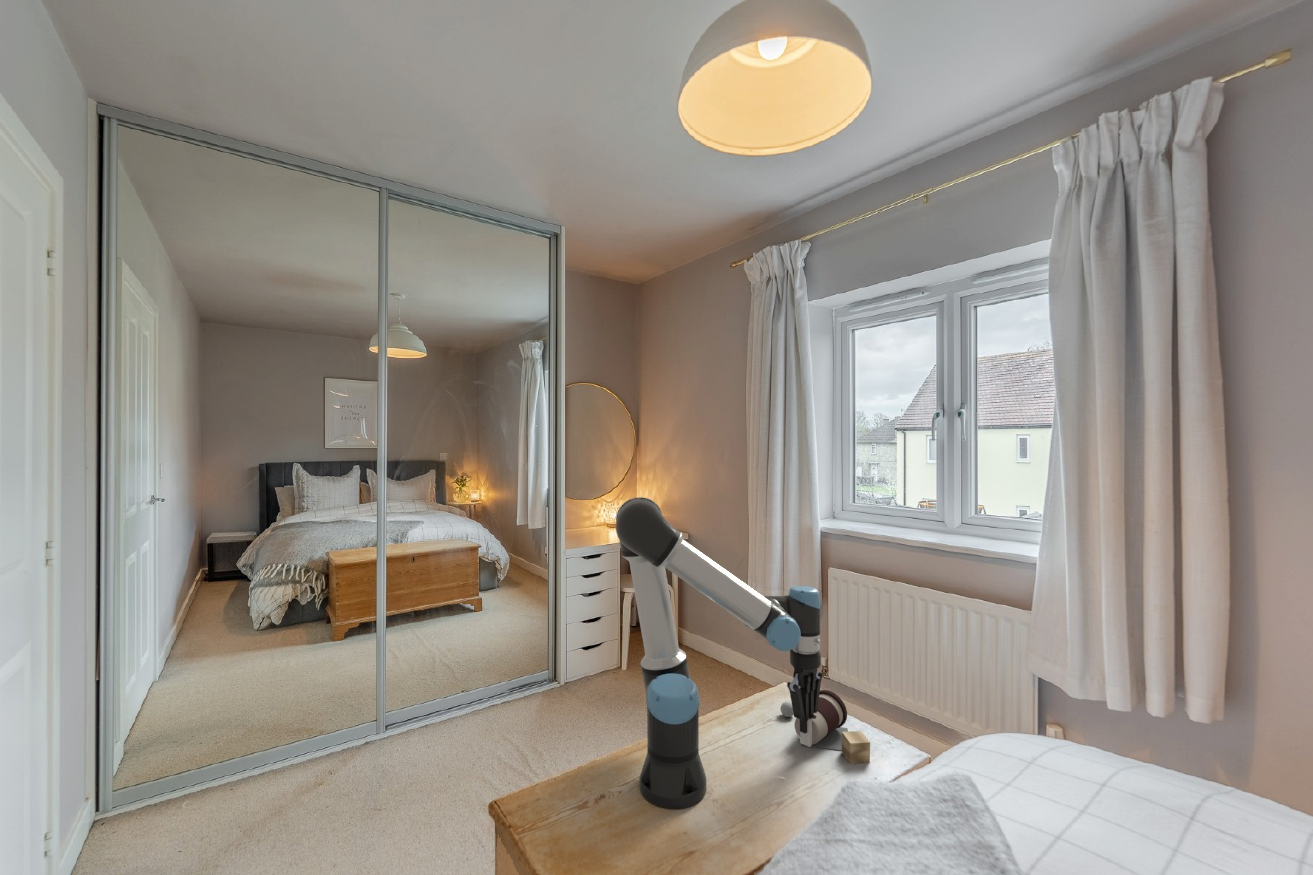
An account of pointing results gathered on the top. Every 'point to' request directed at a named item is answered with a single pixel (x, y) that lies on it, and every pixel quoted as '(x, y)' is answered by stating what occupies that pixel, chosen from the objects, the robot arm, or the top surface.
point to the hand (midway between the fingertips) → (806, 744)
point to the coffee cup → (826, 716)
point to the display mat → (831, 740)
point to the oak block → (856, 747)
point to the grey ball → (787, 709)
